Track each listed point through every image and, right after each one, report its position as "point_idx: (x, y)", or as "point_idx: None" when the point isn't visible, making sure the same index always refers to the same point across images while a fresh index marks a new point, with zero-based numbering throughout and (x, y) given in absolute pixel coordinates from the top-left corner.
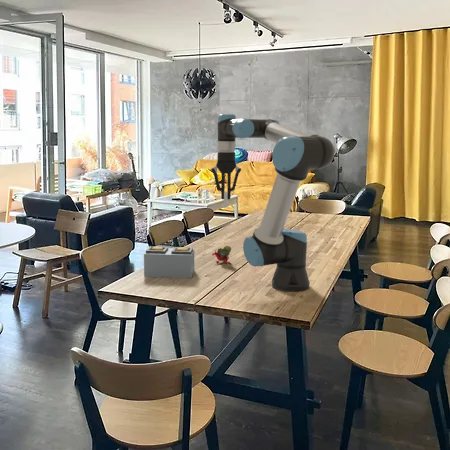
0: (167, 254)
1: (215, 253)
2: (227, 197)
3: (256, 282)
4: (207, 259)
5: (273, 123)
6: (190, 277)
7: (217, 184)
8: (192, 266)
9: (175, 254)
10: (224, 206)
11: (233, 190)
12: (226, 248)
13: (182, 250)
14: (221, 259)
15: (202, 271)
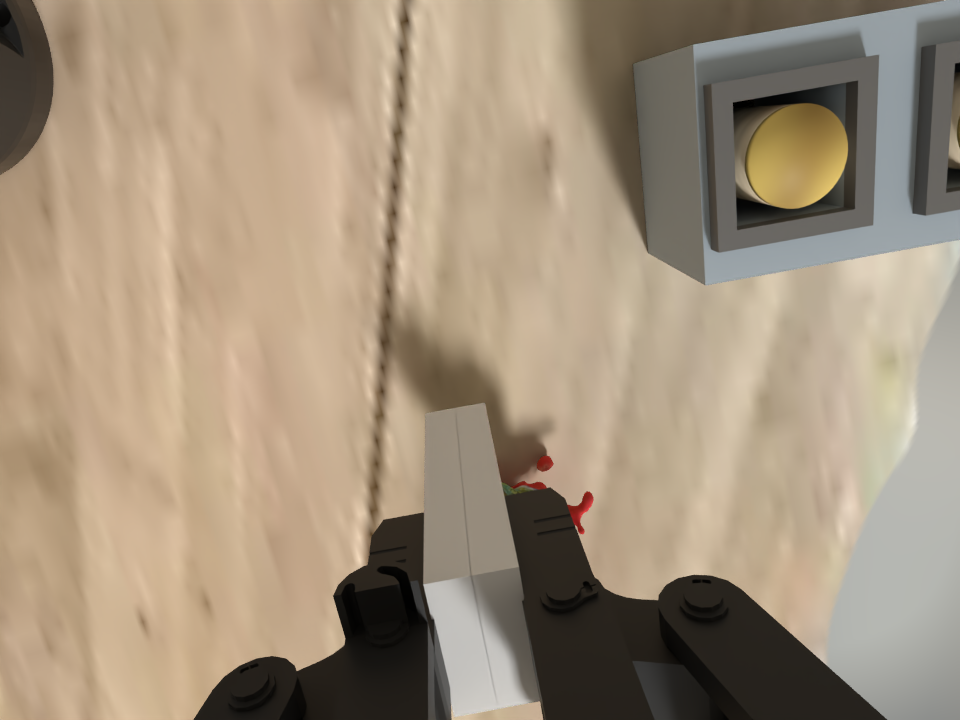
0: (894, 13)
1: (573, 509)
2: (426, 518)
3: (175, 86)
4: (623, 526)
5: None
6: (637, 62)
7: (815, 717)
8: (658, 152)
9: (827, 34)
10: (475, 410)
11: (249, 664)
12: None
13: (788, 106)
14: (524, 482)
15: (594, 253)
